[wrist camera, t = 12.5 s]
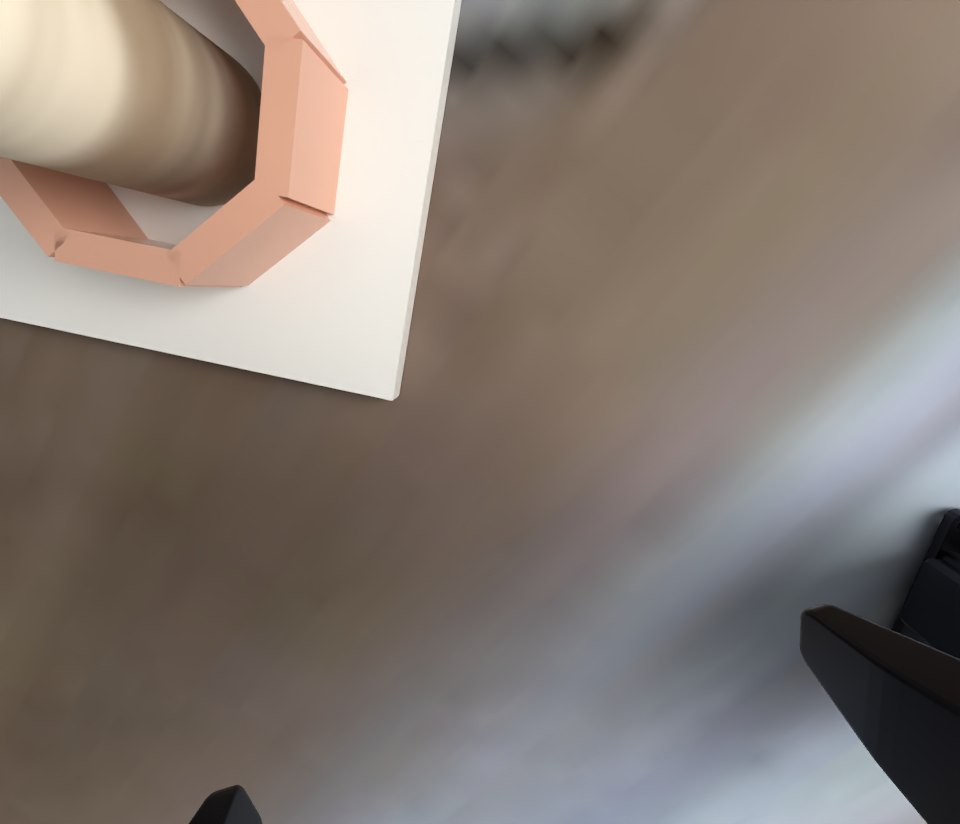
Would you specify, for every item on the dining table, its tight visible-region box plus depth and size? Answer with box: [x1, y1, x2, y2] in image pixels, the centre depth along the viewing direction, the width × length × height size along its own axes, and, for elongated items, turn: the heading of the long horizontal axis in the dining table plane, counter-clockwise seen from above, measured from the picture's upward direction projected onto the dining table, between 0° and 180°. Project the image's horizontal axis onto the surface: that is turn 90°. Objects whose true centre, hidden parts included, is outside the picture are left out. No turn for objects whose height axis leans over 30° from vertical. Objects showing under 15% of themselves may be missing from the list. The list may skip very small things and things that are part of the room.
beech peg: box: [0, 0, 261, 207], centre depth 11 cm, size 5×5×13 cm
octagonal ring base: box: [0, 0, 462, 401], centre depth 16 cm, size 16×16×4 cm
